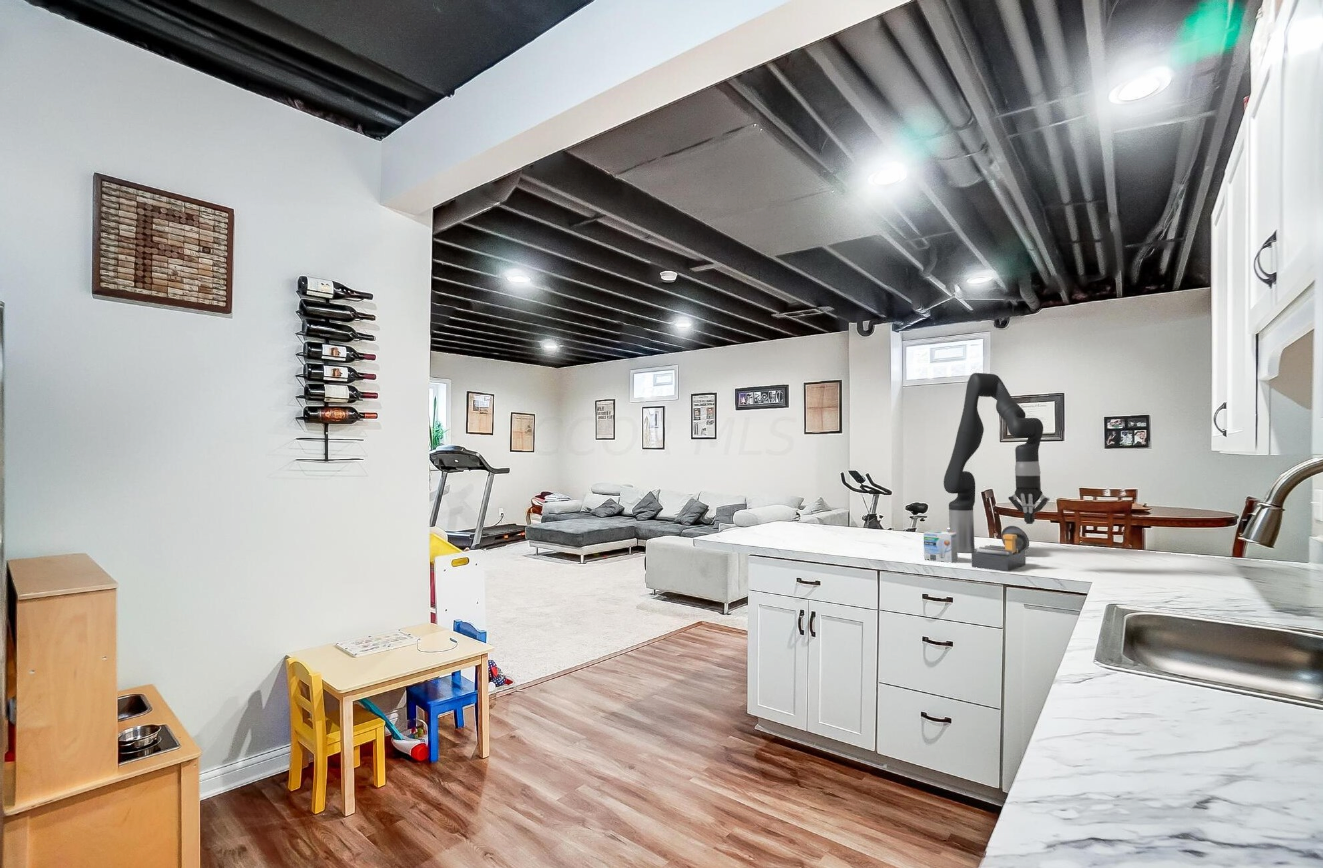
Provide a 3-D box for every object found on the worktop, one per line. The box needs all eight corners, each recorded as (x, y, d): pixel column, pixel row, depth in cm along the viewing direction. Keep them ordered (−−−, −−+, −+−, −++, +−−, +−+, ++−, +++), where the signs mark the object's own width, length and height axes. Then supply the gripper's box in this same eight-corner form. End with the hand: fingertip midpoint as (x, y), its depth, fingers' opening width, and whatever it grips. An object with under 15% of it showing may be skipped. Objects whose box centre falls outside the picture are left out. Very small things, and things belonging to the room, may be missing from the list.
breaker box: (971, 566, 221) (971, 548, 221) (990, 560, 232) (990, 543, 232) (1007, 571, 212) (1007, 552, 212) (1025, 564, 223) (1025, 547, 223)
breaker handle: (1003, 552, 219) (1002, 535, 219) (1007, 551, 221) (1007, 533, 222) (1013, 553, 216) (1012, 535, 217) (1017, 552, 219) (1016, 534, 219)
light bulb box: (923, 559, 236) (922, 532, 237) (929, 557, 241) (928, 530, 242) (952, 562, 229) (951, 534, 229) (958, 560, 234) (957, 532, 234)
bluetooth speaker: (1000, 547, 262) (999, 524, 263) (1025, 548, 258) (1024, 524, 259) (1003, 555, 242) (1003, 530, 242) (1031, 557, 238) (1030, 531, 238)
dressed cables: (976, 552, 222) (976, 548, 222) (990, 548, 230) (990, 544, 230) (1008, 556, 214) (1008, 552, 214) (1022, 551, 222) (1021, 547, 222)
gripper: (1003, 474, 217) (1005, 523, 217) (1045, 475, 207) (1047, 526, 207) (1011, 473, 222) (1013, 521, 222) (1052, 474, 212) (1054, 524, 212)
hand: (1029, 523), depth 214 cm, fingers closed
